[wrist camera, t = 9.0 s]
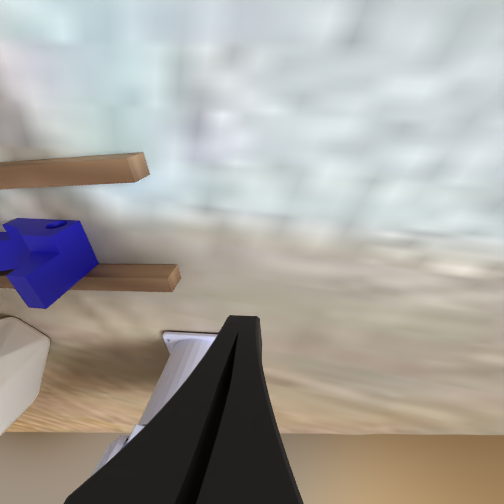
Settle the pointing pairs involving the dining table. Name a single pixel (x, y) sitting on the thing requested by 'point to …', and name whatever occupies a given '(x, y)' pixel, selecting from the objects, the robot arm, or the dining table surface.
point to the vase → (20, 368)
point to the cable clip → (45, 258)
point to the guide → (90, 173)
